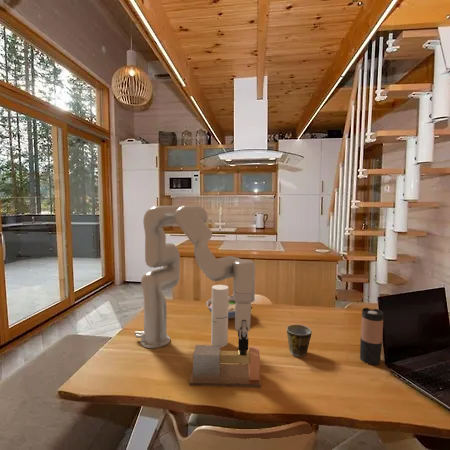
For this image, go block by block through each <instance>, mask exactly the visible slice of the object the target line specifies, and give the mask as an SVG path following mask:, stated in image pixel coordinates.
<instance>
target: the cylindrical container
mask: <svg viewBox="0 0 450 450" xmlns="http://www.w3.org/2000/svg"><path fill="white" fill-rule="evenodd" d="M228 294H229V286H228V285H227V284H226V285H225V284H214V285H212V286H211V299H212V313H211V321H210V322H211V325H210V327H211V329H210V330H211V331H210V332H211V334H210V335H211V336H210V338H211V339H210V341H211V342H210V345H220V348H224V347H226V346H228V344H229V343H228V340H229V338H228V337H229V335H228V334H229V319H228V296H229V295H228Z"/></svg>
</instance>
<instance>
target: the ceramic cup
mask: <svg viewBox="0 0 450 450" xmlns="http://www.w3.org/2000/svg"><path fill="white" fill-rule="evenodd" d="M312 333H313V332H312V329H311V328H310V327H308V326H306V325H302V324H290V325H288V326H287V327H286V336H287V341H288V350H289V353H290V354H291V355H292V356H293V357H297V358H303V357H304V356H305V357H306V356H307V354H308V350H309V346H310V341H311V337H312Z"/></svg>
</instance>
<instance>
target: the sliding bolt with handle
mask: <svg viewBox="0 0 450 450" xmlns="http://www.w3.org/2000/svg"><path fill="white" fill-rule="evenodd" d="M241 329H242V328H241ZM241 334H242V332H241ZM239 338H240V331H239V337H238V339H239ZM237 341H238V342H237V343H238V344H237V345H238V347H237V348H238V349H237V350H220V364H250V351H249V350H247V351H246V350H239V340H237Z"/></svg>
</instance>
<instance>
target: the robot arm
mask: <svg viewBox="0 0 450 450" xmlns="http://www.w3.org/2000/svg"><path fill="white" fill-rule="evenodd" d="M143 215H144V216H143V229H144V236H145V238H144V239H145V240H144V242H145V243H144V255H145V256H144V258H145V259H144V262H145V264H146V266H147V267H149V268H151V269H153V268H154V269H153V270H150V271H148V272H146V273H145V274H144V275H143V276H142V277H141V280H140V283H141V289H142V295H143V330H142V331H140V330H138V331H137V330H135V331H134V336H135V339H140V345H141V346H142V347H144V348H147V349H159V348H162V347H165V346H167V345H168V344H169V343H170V342H171V337H170V335H168V333H167V332H168V331H167V330H168V329H167V324H168V323H167V318H168V317H167V316H168V315H167V299H166V297H165V295H164V293H163V292H164V291H166V290H169V289H172V288H174V287H176V286H177V285H178V284H179V282H180V272H181V271H180V269H181V267H180V266H181V263H180V262H181V257H180V255H181V254H180V251H179V250H180V249H179V248H178V247H177V245H176V244H174V243H169V242H167V239H166V237H167V235H166V233H165V230H164V228H163V227H174V226H178V227H179V228H180V229H181V231H182V232H183V233H184V234H185V236H186V237H187V238H188V239H189V241H190V242H191V244H192V245H193V254H194V258H195V262H196V263H197V266H198V268H200V270H201V271H202V273H203V274H204V275H205V276H206V277H207V278H208V279H209V280H211V281H213V282H221V281H224V280H226V279H229V278H233V279H232V296H233V300H234V301H235V302H236V305H235V318H234V329H235V332H237V338H238V341H239V350H246V351H249V332H250V330H251V317H252V315H251V314H252V313H251V312H252V309H251V307H252V303H253V302H255V300H256V299H255V295H256V262H254V260H251V259H244V258H243V259H242V258H239V257H236V256H232V255H228V256H223V257H219V258H216V257H215V255H214V254H213V253H212V252H211V250H210V248H209V246H208V242H210V240H211V239H212V236H213V232H212V230H211V229H210V227H209V226H208V225H207V221H208V217H209V215H208V212H207V210H205V208H204V207H202V206H200V205H157V206H153V207H150V208H148V209H147V210H146V211H145V213H144V214H143ZM166 242H167V243H166ZM161 267H162V268H161ZM155 268H157V269H155ZM241 328H242V329H241ZM239 331H240V338H239ZM241 332H242V334H241Z"/></svg>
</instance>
